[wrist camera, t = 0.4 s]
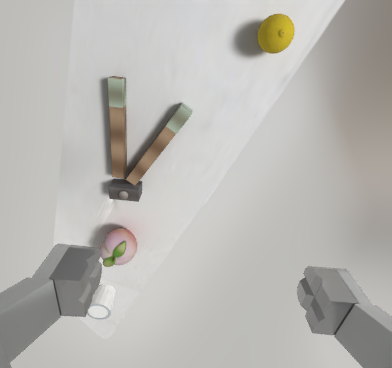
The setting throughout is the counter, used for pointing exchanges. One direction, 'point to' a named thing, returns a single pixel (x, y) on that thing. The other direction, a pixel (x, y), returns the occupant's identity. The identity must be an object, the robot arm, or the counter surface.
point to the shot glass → (102, 302)
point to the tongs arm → (160, 143)
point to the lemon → (275, 33)
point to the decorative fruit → (118, 247)
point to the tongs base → (120, 142)
